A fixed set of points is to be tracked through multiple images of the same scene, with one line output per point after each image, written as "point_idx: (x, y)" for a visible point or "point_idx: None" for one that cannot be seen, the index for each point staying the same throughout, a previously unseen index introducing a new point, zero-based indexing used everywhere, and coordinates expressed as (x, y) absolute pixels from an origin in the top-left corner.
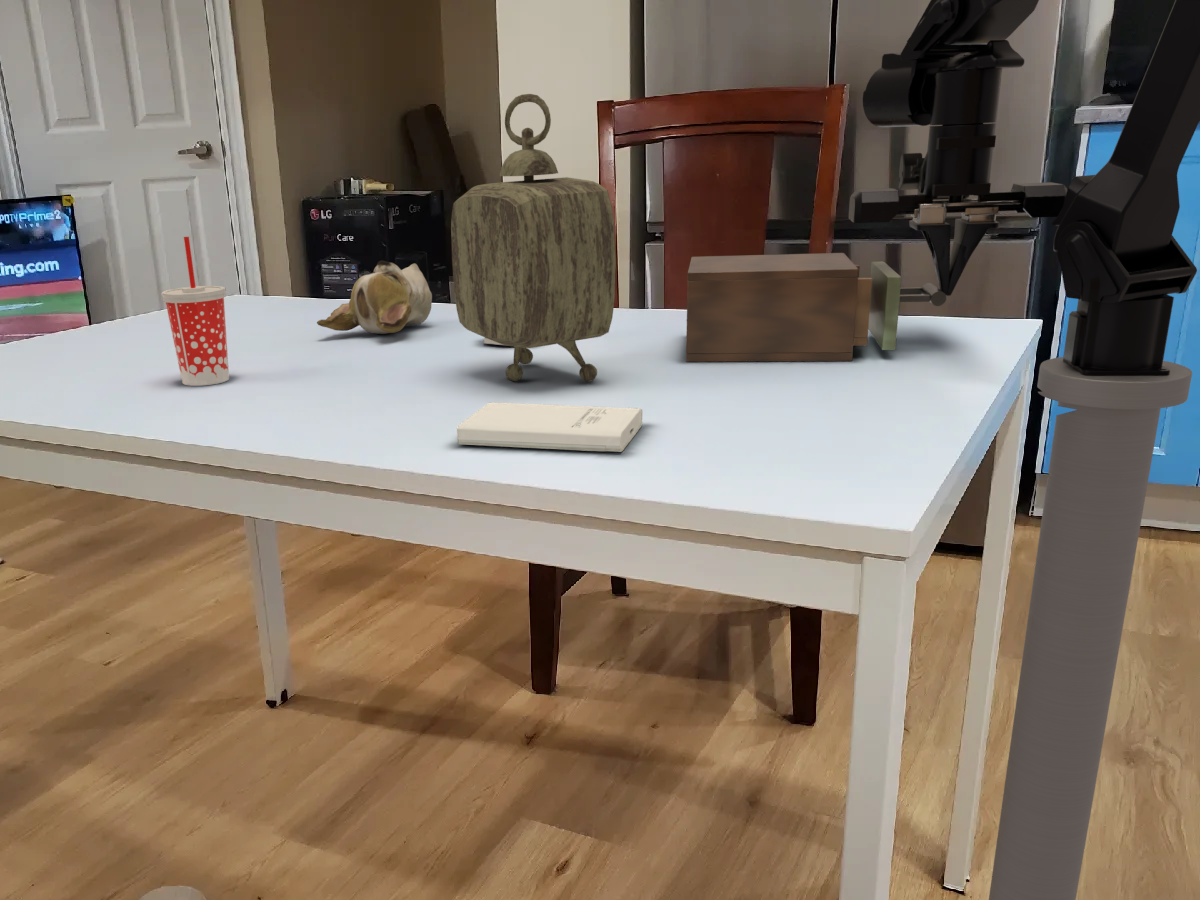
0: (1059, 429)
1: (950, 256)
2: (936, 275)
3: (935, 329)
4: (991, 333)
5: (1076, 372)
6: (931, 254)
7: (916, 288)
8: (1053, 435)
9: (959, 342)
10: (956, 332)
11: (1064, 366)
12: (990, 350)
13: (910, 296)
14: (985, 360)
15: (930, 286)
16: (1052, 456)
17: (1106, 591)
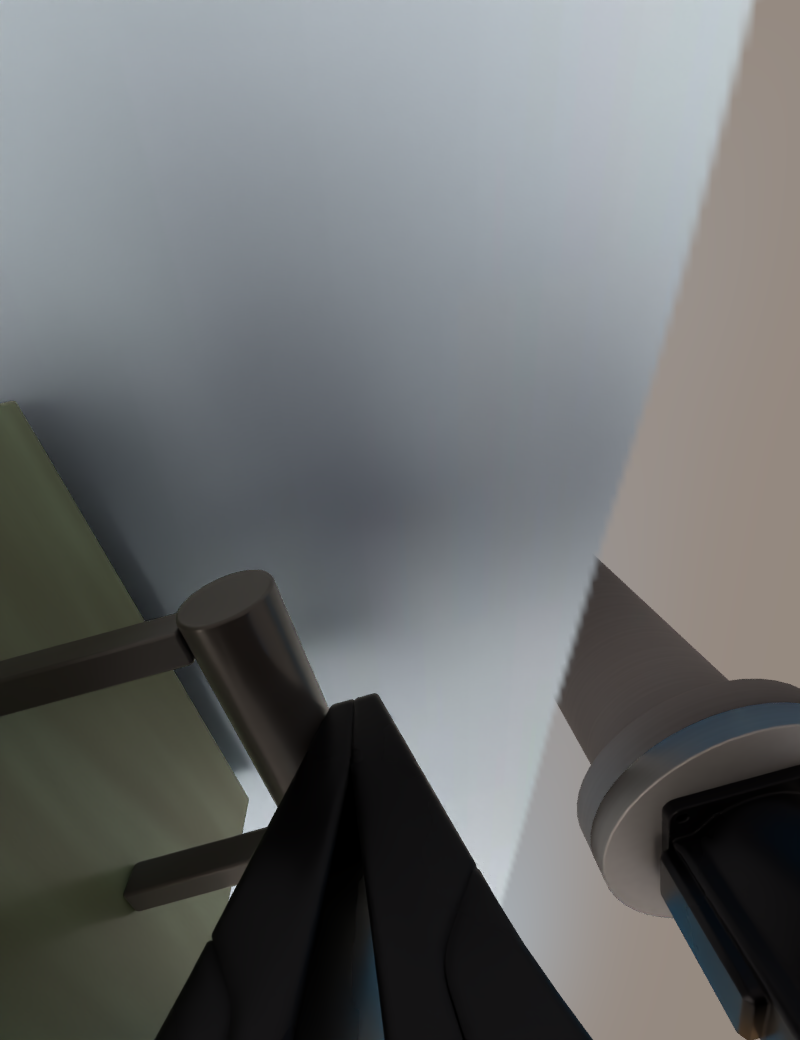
0: (585, 754)
1: (373, 938)
2: (282, 803)
3: (264, 84)
4: (548, 191)
5: (658, 884)
6: (172, 1026)
7: (157, 673)
8: (575, 715)
9: (414, 463)
10: (385, 186)
11: (650, 849)
12: (515, 585)
13: (213, 889)
14: (493, 717)
15: (263, 753)
16: (560, 705)
17: None
